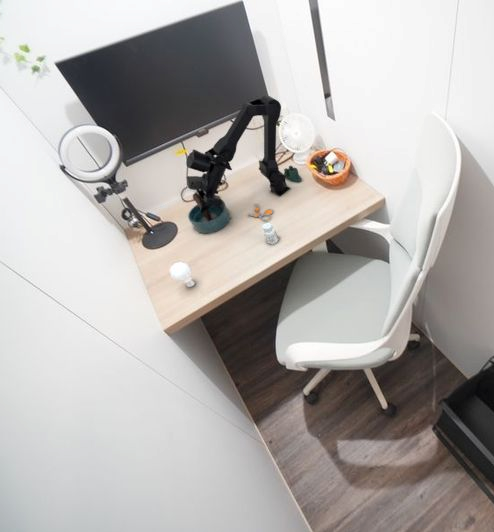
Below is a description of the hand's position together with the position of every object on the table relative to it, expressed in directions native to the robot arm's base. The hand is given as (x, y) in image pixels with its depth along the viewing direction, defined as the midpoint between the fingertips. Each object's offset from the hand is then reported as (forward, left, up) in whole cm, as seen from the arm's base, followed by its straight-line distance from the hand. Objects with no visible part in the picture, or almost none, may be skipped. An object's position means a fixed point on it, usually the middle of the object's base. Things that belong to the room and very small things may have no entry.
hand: (200, 210), depth 128 cm
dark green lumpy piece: (-43, +6, -8) cm, 45 cm away
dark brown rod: (-1, 0, -8) cm, 8 cm away
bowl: (-2, -1, -8) cm, 9 cm away
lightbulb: (+23, +22, -8) cm, 33 cm away
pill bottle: (-9, +30, -8) cm, 33 cm away
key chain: (-17, +13, -8) cm, 23 cm away
